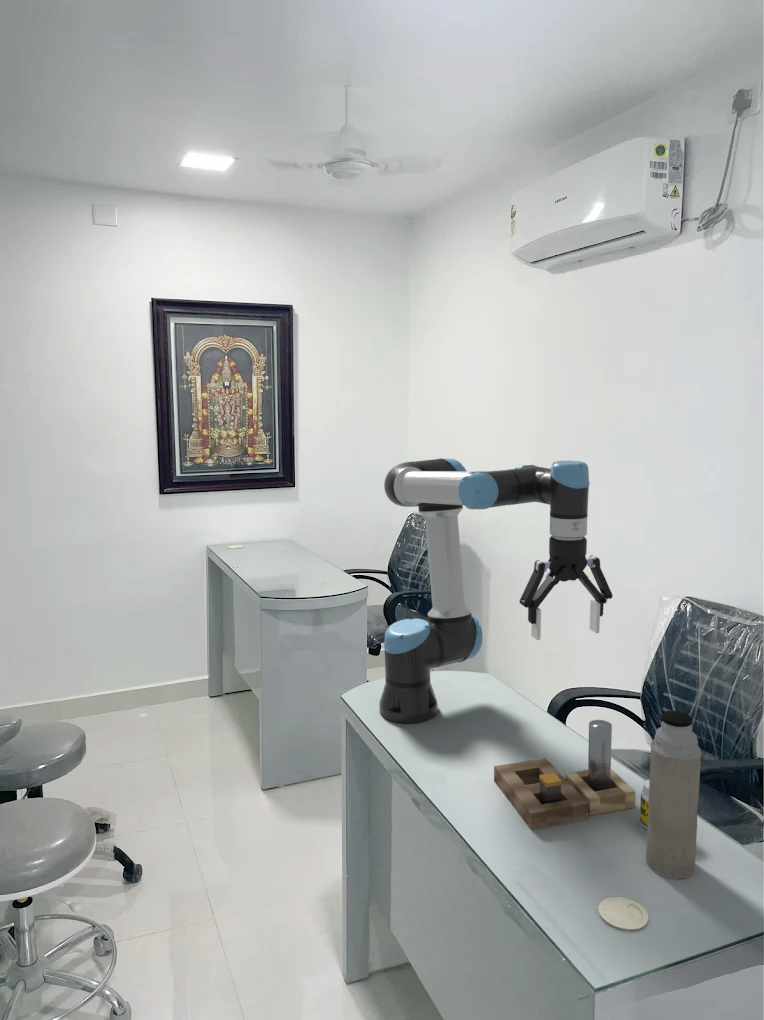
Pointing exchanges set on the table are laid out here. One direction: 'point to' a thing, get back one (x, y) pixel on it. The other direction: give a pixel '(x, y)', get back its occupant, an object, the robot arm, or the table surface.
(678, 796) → the thermos bottle
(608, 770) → the grey metal cylinder
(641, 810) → the supplement bottle
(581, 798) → the socket block
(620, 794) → the frame
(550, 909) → the table surface
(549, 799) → the key
